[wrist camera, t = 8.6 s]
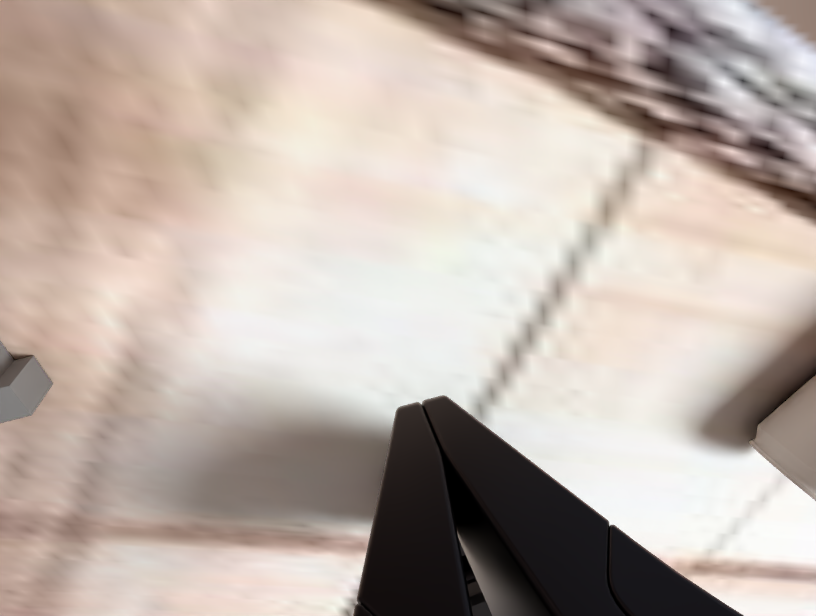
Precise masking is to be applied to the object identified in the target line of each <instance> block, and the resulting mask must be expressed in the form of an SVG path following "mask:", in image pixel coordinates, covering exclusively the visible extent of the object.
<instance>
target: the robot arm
mask: <svg viewBox="0 0 816 616" xmlns="http://www.w3.org/2000/svg"><path fill="white" fill-rule="evenodd" d="M357 602H358V604H357V605H356V606H355V609H354V614H353V616H743V615H742V614H740V613H739V612H737V611H736V610H734V609H732V608H731V607H729V606H728V605H726V604H725V603H723V602H722V601H720V600H719V599H717V598H716V597H714V596H712V595H711V594H709V593H708V592H706V591H705V590H703V589H702V588H700V587H699V586H697V585H696V584H694V583H693V582H691V581H690V580H688V579H687V578H685V577H684V576H682V575H681V574H679V573H678V572H676V571H675V570H674V569H672V568H671V567H670V566H668V565H667V564H665V563H664V562H663V561H661V560H660V559H659V558H657V557H656V556H655V555H653V554H652V553H650V552H649V551H648V550H646V549H645V548H644V547H642V546H641V545H639V544H638V543H637V542H635V541H634V540H633V539H632V538H630V537H629V536H628V535H626V534H625V533H624V532H623V531H621V530H620V529H619V528H617V527H616V526H615V525H610V526H609V521H608V520H607V519H605V518H604V517H603V516H602V515H600V514H599V513H598V512H596V511H595V510H594V509H592V508H591V507H590V506H589V505H587V504H586V503H585V502H583V501H582V500H581V499H579V498H578V497H577V496H576V495H574V494H573V493H572V492H570V491H569V490H568V489H566V488H565V487H564V486H563V485H561V484H560V483H559V482H557V481H556V480H555V479H553V478H552V477H551V476H550V475H548V474H547V473H546V472H544V471H543V470H542V469H540V468H539V467H538V466H537V465H535V464H534V463H533V462H531V461H530V460H529V459H527V458H526V457H525V456H524V455H522V454H521V453H520V452H518V451H517V450H516V449H514V448H513V447H512V446H511V445H509V444H508V443H507V442H505V441H504V440H503V439H501V438H500V437H499V436H498V435H496V434H495V433H494V432H492V431H491V430H490V429H488V428H487V427H486V426H485V425H483V424H482V423H481V422H479V421H478V420H477V419H475V418H474V417H473V416H472V415H470V414H469V413H468V412H466V411H465V410H464V409H462V408H461V407H460V406H459V405H457V404H456V403H455V402H453V401H452V400H451V399H449V398H448V397H447V396H438V397H434V398H431V399H427V400H424V401H423V402H422V405H421V404H420V403H419V402H416V403H412V404H408V405H404V406H401V407H399V408H398V409H397V410H396V414H395V418H394V423H393V428H392V433H391V438H390V442H389V447H388V452H387V457H386V462H385V466H384V471H383V476H382V481H381V486H380V491H379V495H378V500H377V505H376V510H375V515H374V519H373V524H372V529H371V534H370V539H369V543H368V548H367V553H366V558H365V563H364V567H363V572H362V577H361V582H360V587H359V592H358V596H357Z"/></svg>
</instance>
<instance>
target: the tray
mask: <svg viewBox="0 0 816 616" xmlns="http://www.w3.org/2000/svg"><path fill="white" fill-rule="evenodd" d="M52 385H53V383H52V381H51V380H50V378H49V377H48V376H47V374H46V373H45V371H44V370H43V368H42V367H41V365H40V364H39V363H38V361H37V360H36V358H35V357H34V356H30V357H26V358H21V359H17V360H14V359H13V358H12V356H11V355H10V354H9V352H8V351H7V349H6V348H5V347H4V345H3V344H2V343H1V341H0V423H3V422H7V421H11V420H15V419H19V418H23V417H27V416H31V415H32V414H33V413H34V411H35V410H36V408H37V407H38V405H39V404H40V402H41V401H42V399H43V398H44V397H45V395H46V394H47V392H48V391H49V389H50V388H51V386H52Z"/></svg>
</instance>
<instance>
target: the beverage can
mask: <svg viewBox="0 0 816 616" xmlns="http://www.w3.org/2000/svg"><path fill="white" fill-rule="evenodd" d="M749 444H750V445H751V446H752V447H753V448H754V449H755V450H756V451H758V452H759V453H760V454H761V455H762V456H763V457H764V458H765V459H766V460H768V461H769V462H770V463H771V464H772V465H773V466H774V467H776V468H777V469H778V470H779V471H780V472H781V473H783V474H784V475H785V476H786V477H787V478H789V479H790V480H791V481H792V482H793V483H795V484H796V485H797V486H798V487H799V488H801V489H802V490H803V491H804V492H805V493H807V494H808V495H809V496H810V497H812V498H813V499H814V500H815V501H816V375H815V376H814V377H812V378H811V379H810V380H809V381H808V382H807V383H806V384H804V385H803V386H802V387H801V388H800V389H799V390H798V391H796V392H795V393H794V394H793V395H792V396H791V397H789V398H788V399H787V400H786V401H785V402H784V403H783V404H781V405H780V406H779V407H778V408H777V409H776V410H775V411H773V412H772V413H771V414H770V415H769V416H768V417H767V418H765V419H764V420H763V421H762V422H761V423H760V424H759V425H758V427H757V434H756V438H755V439H754V440H751V441H749Z"/></svg>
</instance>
